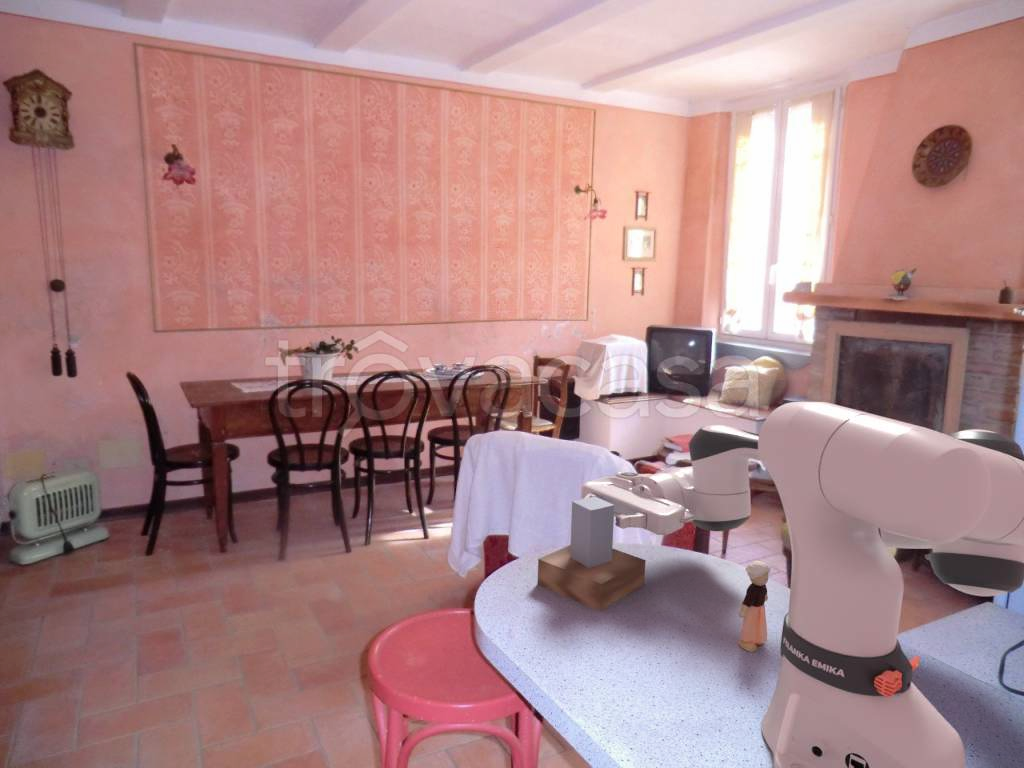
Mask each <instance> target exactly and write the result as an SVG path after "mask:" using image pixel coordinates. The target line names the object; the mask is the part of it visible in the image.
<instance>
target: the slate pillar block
mask: <svg viewBox="0 0 1024 768" xmlns="http://www.w3.org/2000/svg"><path fill="white" fill-rule="evenodd" d="M614 519H615V516H614V505H613V504H611V503H609V502H606V501H604V500H602V499H600V498H598V497H595V496H594V497H590V498H585V499H581V500H580V499H577V500H572V501H571V522H570V523H571V526H570V545H571V549H570V557H571V558H573V559H574V560H576V561H578V562H579V563H581V564H583V565H584V566H586V567H588V568H591V567H594V566H598V565H601V564H605V563H608V562H612V548H613V544H614V543H613V541H614Z"/></svg>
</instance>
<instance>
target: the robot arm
mask: <svg viewBox="0 0 1024 768" xmlns="http://www.w3.org/2000/svg"><path fill="white" fill-rule="evenodd" d="M688 451H689V456H690V461H691V466H684V467H678V468H674V469H671V470H669V471H668V472H656V473H635V472H629V471H618V472H616V473H615V476H605V477H604V476H603V477H601V478H600V477H599V478H597V479H593V480H589V481H587V482H585V483H584V484H583V485H582V487H581V499H585V498H590V497H594V496H595V497H598V498H600V499H602V500H604V501H606V502H609V503H611V504H613V505H614V518H615V526H616V527H618V528H621V529H622V530H623V529H627V528H634V529H635V528H636V529H644V530H645V531H648V532H651V533H653V534H655V535H658V536H667V535H670V534H672V533H675V532H677V531H679V530H681V529H682V528H683V527H684V525H685V523H692V524H693V525H695V526H697V527H698V528H699V529H702V530H706V531H709V532H725V531H726V532H727V531H731V530H735V529H737V528H740V527H741V526H742V525H744V524H746V522H747V521H748V520H750V518H751V516H752V513H751V512H752V505H751V501H752V499H751V488H750V475H749V473H750V472H749V459H752V460H757V461H760V462H761V464H762V465H763V466H764V468H765V470H766V471H767V473H768V474H769V475H770V477H771V479H772V481H773V483H774V485H775V488H776V489H777V491H778V492H777V493H778V495H779V498H780V502H781V505H782V508H783V512H784V515H785V520H786V525H787V529H788V533H789V540H790V548H791V578H790V590H789V603H788V612H787V613H786V614H785V616H784V618H783V625H782V630H781V637H780V638H781V639H780V656H781V658H782V659H781V663H780V669H779V673H778V678H777V681H776V685H775V689H774V692H773V695H772V697H771V701H770V703H769V706H768V707H767V711H766V712H765V714H764V716H763V718H762V720H761V731H762V735H763V738H764V740H765V742H766V744H767V746H768V747H769V749H770V751H771V753H772V755H773V758H772V759H773V768H967V762H966V760H967V759H966V753H965V747H964V743H963V740H962V738H961V736H960V734H959V732H957V730H956V729H955V728H954V727H953V726H952V725H951V723H949V721H947V720H946V718H944V716H943V715H942V714H941V713H940V712H939V711H938V710H937V708H936V707H935V706H934V705H933V704H932V703H931V702H930V701H929V700H928V699H927V697H925V695H924V694H923V693H922V692H921V690H920V689H918V687H917V686H916V685H915V683H913V681H912V679H913V672H914V671H915V670H916V669H918V668H919V665H920V663H919V662H920V658H921V657H920V655H919V654H918V655H916V656H914V657H913V658H912V659H910V660H909V659H908V657H907V656H906V654H905V653H904V651H903V649H902V645H901V643H900V641H899V639H898V634H899V627H900V626H899V625H900V621H901V620H900V619H901V612H902V611H901V610H902V604H903V598H904V597H903V595H904V589H905V581H904V579H905V578H904V575H903V572H902V569H901V567H900V565H899V563H898V561H897V560H896V559H895V557H894V556H893V554H892V553H891V551H890V550H889V549H888V548H894V549H909V550H910V549H913V550H914V549H917V550H918V549H924V550H925V549H926V550H927V549H928V550H929V549H931V551H930V553H927V554H924V558H925V560H927V561H929V562H930V566H931V568H932V570H933V574H934V575H936V577H937V578H938V579H939V580H940V581H941V582H942V583H943V584H944V585H948V586H950V587H951V588H953V589H956V590H957V591H960V592H962V593H964V594H968V595H970V596H977V597H994V596H996V597H997V596H1000V595H1003V594H1007V593H1008V594H1009V593H1010V594H1012V593H1014V592H1016V591H1017V590H1019V589H1021V588H1022V586H1023V583H1024V452H1023V450H1022V447H1021V446H1020V444H1018V442H1016V441H1015V439H1013V438H1012V437H1010V436H1009V435H1006V434H1002V433H999V432H995V431H992V430H988V429H987V430H986V429H979V428H978V429H977V428H976V429H975V428H974V429H972V428H971V429H965V430H959V431H957V432H956V431H955V432H951V433H948V434H946V433H942V432H939V431H937V430H933V429H931V428H928V427H924V426H920V425H917V424H916V425H915V424H913V423H908V422H905V421H901V420H897V419H893V418H889V417H886V416H881V415H877V414H874V413H870V412H866V411H862V410H858V409H854V408H850V407H846V406H842V405H840V404H839V405H838V404H834V403H831V402H826V401H795V402H794V401H793V402H787V403H784V404H782V405H780V406H778V407H776V408H775V409H774V410H773V411H772V412H771V413H770V414H769V415H768V416H767V417H766V419H765V420H764V422H763V423H762V426H761V428H760V431H759V433H754V432H750V431H746V430H743V429H739V428H736V427H732V426H728V425H723V424H710V425H706V426H701V427H700V428H699V429H698V430H697V431H696V432H695V433H694V434H693V436H692V437H691V439H690V440H689V442H688ZM581 499H579V500H581Z"/></svg>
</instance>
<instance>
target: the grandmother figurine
mask: <svg viewBox="0 0 1024 768" xmlns="http://www.w3.org/2000/svg"><path fill="white" fill-rule="evenodd" d="M745 571H746V572H747V576H748V577H749V580H750V582H751V584H749V586H748V587H747V589H746V592H745V596H744V599H743V601H742V603H741V607H740V611H739V612H738V617H740V618H741V619H743V621H742V628H741V632H740V640H739V641H738V643H737V644H738V646H739V647H740V648H742V649H743V650H745V651H747V652H750V653H753V652H756V651H758V647H757V646H762V645H764V643H767V641H768V630H767V629H768V628H767V625H768V624H767V618H766V617H767V616H766V607H765V606H766V605H765V603H766V602H767V601H768V599H769V597H768V596H769V595H768V589H767V585H766V584H767V583H768V581H769V573H770V572H771V567H770V565H769V564H767V562H764V561H761V560H754V561H752V562H751V563H750V564H748V565H747V567H746V568H745Z"/></svg>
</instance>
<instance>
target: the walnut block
mask: <svg viewBox="0 0 1024 768" xmlns="http://www.w3.org/2000/svg"><path fill="white" fill-rule="evenodd" d="M570 549H571V544H569V545H567V546H564V547H562V548H559V549H557V550H556V551H555V550H554V551H553V552H551V553H548V554H547V555H544V556H542V557H540V558H538V563H537V564H538V565H537V583H536V584H537V586H540V585H541V586H540V587H542V586H543V588H545V587H546V588H545V589H547V588H548V589H547V590H549V589H550V590H549V591H552V590H553V592H554V591H555V592H554V593H556V592H557V593H556V594H559V595H561V596H563V597H566V598H568V599H570V600H573V601H574V602H578V603H579V604H582V605H584V606H587V607H589V608H592V609H593V610H596V611H597V612H601V611H602V610H605V609H606V608H608V607H610V606H611V605H613V604H615V603H616V602H618V601H620V600H622V599H623V598H625V597H626V596H628V595H630V594H631V593H633V592H634V591H637V590H638V589H640V588H641V587H643V586H644V585H645V578H646V577H645V576H646V575H645V574H646V559H643V558H641V557H638V556H635V555H632V554H629V553H626V552H623V551H621V550H618V549H615V548H613V547H612V562H608V563H605V564H601V565H598V566H594V567H591V568H588V567H586V566H584V565H583V564H581V563H579V562H578V561H576V560H574V559H573V558H571V557H570Z"/></svg>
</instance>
